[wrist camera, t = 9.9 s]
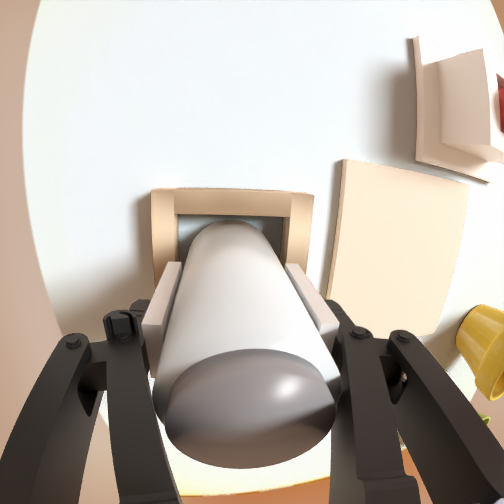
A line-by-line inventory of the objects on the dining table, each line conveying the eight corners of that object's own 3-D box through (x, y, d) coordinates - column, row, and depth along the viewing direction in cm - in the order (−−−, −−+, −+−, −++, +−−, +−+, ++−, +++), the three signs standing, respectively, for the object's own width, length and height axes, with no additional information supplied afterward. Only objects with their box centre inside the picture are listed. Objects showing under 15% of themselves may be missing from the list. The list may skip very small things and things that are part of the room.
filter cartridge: (186, 220, 19) (124, 357, 6) (274, 219, 20) (375, 345, 6) (190, 299, 21) (168, 473, 8) (270, 298, 21) (328, 462, 8)
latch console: (412, 38, 17) (461, 16, 10) (489, 81, 18) (533, 77, 11) (415, 160, 20) (474, 167, 14) (489, 182, 22) (537, 194, 15)
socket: (157, 187, 19) (151, 190, 17) (305, 192, 20) (314, 195, 18) (163, 320, 22) (160, 333, 20) (291, 320, 23) (297, 333, 21)
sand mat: (342, 159, 20) (347, 159, 19) (463, 184, 21) (469, 185, 21) (316, 344, 24) (319, 349, 24) (430, 329, 26) (434, 333, 25)
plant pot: (497, 320, 29) (539, 352, 19) (452, 370, 30) (489, 412, 21) (490, 274, 25) (544, 307, 16) (437, 333, 27) (487, 382, 17)
